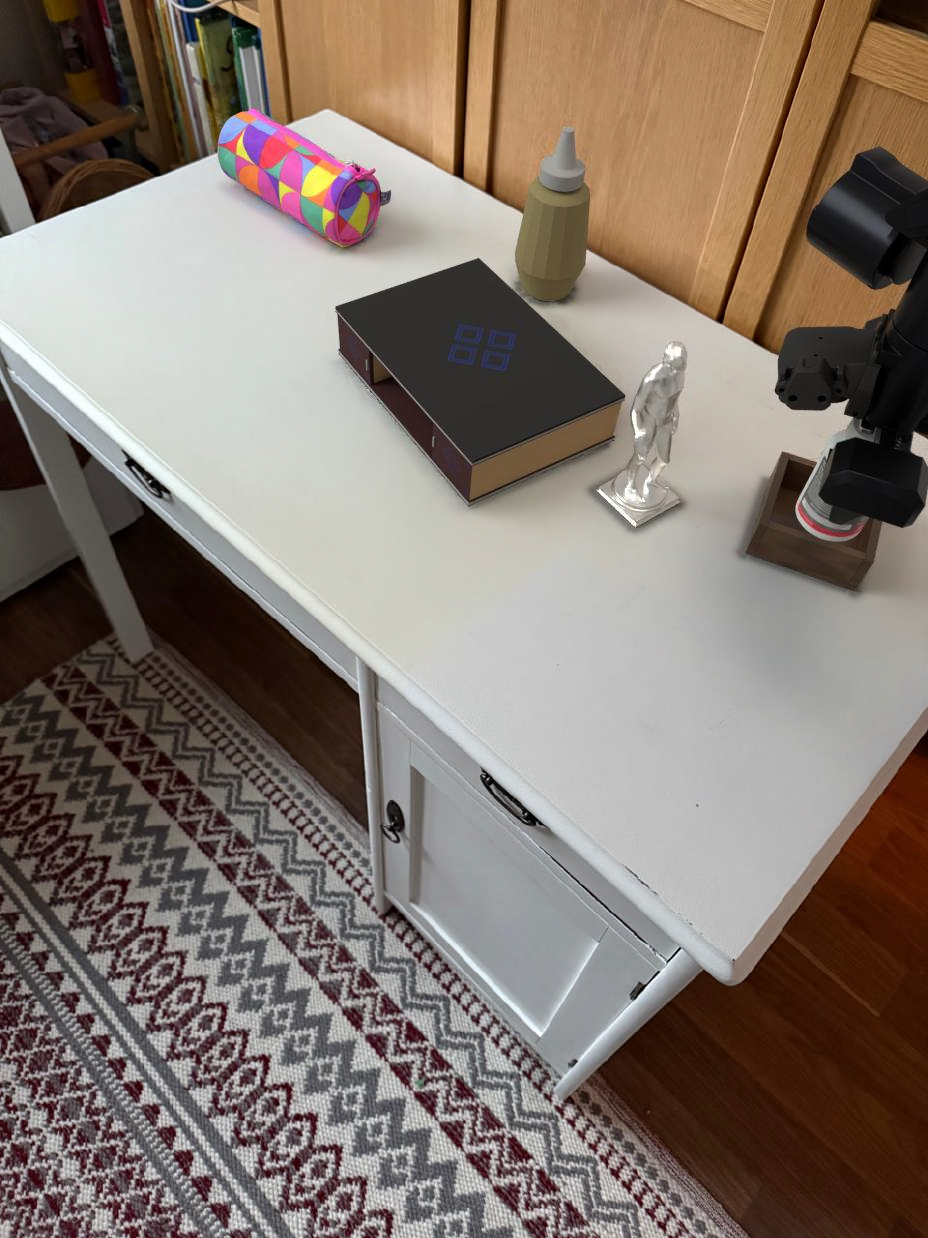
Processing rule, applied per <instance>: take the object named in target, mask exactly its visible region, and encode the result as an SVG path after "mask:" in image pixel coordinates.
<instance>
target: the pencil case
mask: <svg viewBox="0 0 928 1238" xmlns="http://www.w3.org/2000/svg"><path fill="white" fill-rule="evenodd" d="M217 160H218V163H219V166H220V169H221V170H222V172H223V173H224V174H225V175H226V176H227V177H228V178H229V179H230V180H233V181H235V182H237V183H238V184H240V185H241V186H243V187H244V188H246V189H247V190H248V191H250V192H251V193H253V194H254V195H255V196H257V197H258V198H260V199H261V200H263V201H264V202H266V203H267V204H271V205H272V206H273V207H274V208H276V209H278V210H279V211H281V212H283V213H284V214H286V215H287V216H289V217H291V218H292V219H294V220H295V221H297V222H298V223H300V224H301V225H303V226H305V227H306V228H308V229H309V230H310V231H312V232H314V233H315V234H317V235H319V236H320V237H322V238H324V239H326V240H328V241H330V242H332V243H333V244H336V245H337V246H339V247H341V248H347V247H351V246H353V245H354V244H357V243H359V242H361V241H362V240H364V239H365V238H366V237H367V236H368V235H370V233H371V232H372V231H373V230H374V228H375V226H376V224H377V221H378V218H379V215H380V214H379V213H380V211H381V207H382V206H385V205H388V204H389V203H390V201H391V198H392V189H389V190H387V191H382V188H381V184H380V181H379V180H378V179H377V177H376V176H375V175H374V174H375V173H376V170H377V169H376V168H375V167H373V168H371V169H369V170H368V169H367V168H364V167H363V166H361V165H360V164H358V163H356V162H355V161H353V160H351V159H347V160H346V161H345V162H343V161H342V160H341V159H338V158H337V157H336V156H335V155H334V154H331V153H330V152H328V151H327V150H325V149H323V148H322V147H320V146H319V145H317V144H316V143H315V142H313V141H311V140H310V139H308V138H306V137H305V136H303V135H301V134H300V133H298V132H297V131H295V130H293V129H291V128H289V127H287V126H285V125H282V124H280V123H278V122H277V121H275V120H274V119H273V118H272V117H270V116H268V115H267V114H265V113H264V112H263V111H260V110H258V109H256V108H249V109H248V111H240V112H238V113H236V114H234V115H232V116H231V117H229V118H228V119H227V120H226V121H225V123H224V124H223V126H222V127H221V130H220V133H219V136H218V141H217Z"/></svg>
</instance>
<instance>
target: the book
mask: <svg viewBox="0 0 928 1238" xmlns="http://www.w3.org/2000/svg"><path fill="white" fill-rule="evenodd" d="M334 310H335V311H334V312H335V313H336V315H337V316H336V317H337V329H338V343H339V348H338V349H337V350H338V353H337V354H338V355H339V356H340V358H341V359H342V360H343V361H344V362H345V363H346V364H347V366H348V367H349V368H350V369H351V371H352V372H353V373H354V374H355V375H356V376H357V377H358V379H359V380H360V381H361V382H362V383H363V384H364V386H365V387H366V388H367V389H368V390H369V391H370V393H371V394H372V395H373V396H374V397H375V399H376V401H378V402H379V404H381V406H382V407H383V409H385V411H386V412H387V413H388V414H389V415H390V416H391V418H392V419H393V420H394V421H395V422H396V423H397V424H398V426H399V427H400V428H401V429H402V430H403V431H404V433H405V434H406V435H407V436H408V437H409V439H410V440H411V441H412V443H414V445H415V446H416V448H418V449H419V451H420V452H421V453H422V455H424V456H425V458H426V459H427V460H428V461H429V462H430V464H431V465H432V466H433V467H434V468H435V469H436V471H437V472H438V473H439V475H441V476H442V478H443V479H444V480H445V481H446V482H447V484H449V486H450V488H452V489H453V490H454V492H455V493H456V494H457V496H459V498H461V500H463V502H464V503H465V505H466V506H467V507H468V508H469V507H471V506H473V505H476V504H478V503H480V502H482V501H485V500H487V499H489V498H491V497H493V496H496V495H498V494H500V493H502V492H505V491H507V490H509V489H512V488H513V487H516V486H519V485H520V484H523V483H524V482H527V481H529V480H532V479H534V478H536V477H539V476H540V475H543V474H544V473H547V472H549V471H551V470H553V469H555V468H558V467H560V466H563V465H564V464H567V463H569V462H571V461H573V460H575V459H578V458H580V457H583V456H584V455H586V454H589V453H591V452H593V451H595V450H598V449H600V448H603V447H604V446H607V445H608V444H611V443H613V442H616V435H615V431H616V428H617V424H618V420H619V416H620V412H621V407H622V404H623V402H625V401H626V394H625V393H624V391H622V390H621V389H620V388H619V387H617V386H616V385H615V383H613V382H612V381H611V380H610V379H609V378H608V377H607V376H606V375H605V374H604V373H602V372H601V370H599V368H598V367H596V366H595V365H594V364H593V362H591V361H590V360H589V359H588V358H587V357H585V355H583V354H582V353H581V352H580V351H579V350H578V349H577V348H576V347H575V346H574V345H573V344H572V343H570V341H568V339H567V338H565V337H564V336H563V335H562V334H561V333H560V332H559V331H558V330H557V329H555V327H554V326H552V324H550V323H549V322H548V321H547V320H546V319H545V318H544V317H543V316H542V315H541V314H539V312H537V310H536V309H534V308H533V306H531V305H530V304H529V303H528V302H526V300H525V299H523V297H521V295H520V294H518V293H517V292H516V291H515V290H514V289H513V288H512V287H511V286H510V285H508V284H507V282H505V280H503V279H502V278H501V277H500V276H499V275H498V274H497V273H496V272H495V271H494V270H493V269H491V267H490V266H488V264H486V263H485V262H484V261H483V260H482V259H481V258H480V257H477V258H474V259H471V260H468V261H465V262H462V263H459V264H456V265H452V266H450V267H448V268H445V269H441V270H439V271H436V272H433V273H430V274H427V275H424V276H421V277H417V278H414V279H412V280H409V281H406V282H404V283H400V284H398V285H394V286H391V287H389V288H385V289H383V290H379V291H376V292H374V293H371V294H368V295H365V296H362V297H358V298H356V299H353V300H349V301H346V302H344V303H341V304H338V305H335V306H334Z"/></svg>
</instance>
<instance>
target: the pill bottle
mask: <svg viewBox="0 0 928 1238" xmlns="http://www.w3.org/2000/svg"><path fill="white" fill-rule="evenodd" d="M860 421H861V419H857V418H854V417H851V420H850V422H849V423H848V424H847V425H846V427H845V429H842V430H840V431H838V432H836V433H835V434H834V435H832V436H831V437H830V439H828V441H827V443H826V445H825V446H824V449H823V450H822V452H821V454H820V456H819V457H818V460H817V461H816V462H817V464H816V466H815V468H814V470H813V472H812V474H811V476H810V477H809V479H808V481H807V483H806V485H805V487H804V489H803V491H802V493H801V495H800V497H799V499H798V501H797V504H796V516H797V519H798V520H799V522H800V523H801V525H802V526H803V527H804V528H805V529H806V530H807V531H808V532H810V533H811V534H813V535H814V536H816V537H818V538H820V539H823V540H827V541H836V542H839V541H847V540H849V539H852V538H854V537H855V536H857V535H858V534H859V532H860V531H861V530H862V528H863V527H864V525H865V524H866V522H867V521H868V519H869V517H866V516H861V517H859V518H857V519H855V520H853V521H850V522H848V523H846V524H844V525H838V524H835V523H832V522H830V521H829V520H828V519H829V515H830V512H831V508H832V505H829V504H826V503H824V502H823V500H822V499H821V498H820V497H819V496H818V493H819V489H820V485H821V481H822V477H823V473H824V469H825V465H826V461H827V457H828V453H829V449H830V448H832V449H833V448H834V447H835V445H836V443H837V442H840V441H844V440H847V439H850V438H853V437H858V438H861V439H865V440H868V441H871V442H874V437H875V432H876V428H877V427H876V426H875V427H876V428H875V432H874V434H873V435H872V434H866V433H863V432H861V431H860V430H859V425H860ZM896 438H897V437H896ZM894 449H895V448H894Z"/></svg>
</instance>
